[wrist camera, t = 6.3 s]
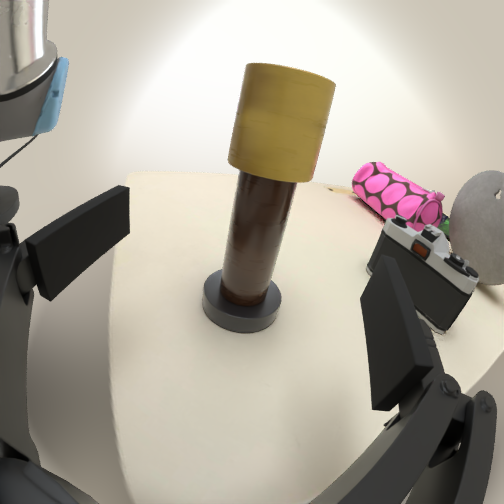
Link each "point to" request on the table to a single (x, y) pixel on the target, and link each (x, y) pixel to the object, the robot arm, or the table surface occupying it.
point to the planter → (480, 226)
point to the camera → (427, 271)
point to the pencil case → (398, 196)
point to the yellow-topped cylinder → (265, 187)
